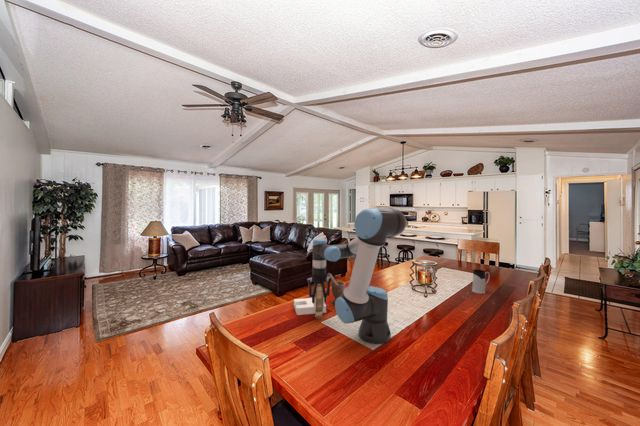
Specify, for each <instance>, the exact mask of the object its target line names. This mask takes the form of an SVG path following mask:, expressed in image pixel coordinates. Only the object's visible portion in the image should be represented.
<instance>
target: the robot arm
mask: <svg viewBox="0 0 640 426" xmlns="http://www.w3.org/2000/svg"><path fill="white" fill-rule="evenodd" d="M353 223H354V224H353V226H354V228H355V229H354V232H355V234H356V235H357V237H355V238H353V239H352V240H350V241H348V242H347V243H342V244H341V243H340V244H327V240H326V238H314V239H313V240H312V246H311V248H312V275H311V277H309V278H306V279H307V284H308V286H307V287H308V296H309V298H312V303H314V309H315V310H316V297H315V294H316V289H317V285H318V284H321V285H322V287H323V309H324V303H326V302H327V297H329V296H330V294H331V293H330V290H331V289H330V288H331V278H330V277H327V261H330V262H337V261H338V260H340V259H347V258H355V259H354V263H353V265H352V270H351V275H350V278H349V282H348V286H345V289H344V291H343V295H342V297H338V298H337V299H336V301H335V305H334V307H335V308H334V309H335V311H336V315H337V317H338V319H339V320H340V321H341V322H342V323H343V324H353V323H357V322H360V321H361V322H360V325H359V328H358V336H359V338H361V340H363V341H364V342H367V343H370V344H379V345H380V344H385V343H388V342H390V340H391V336H392V335H391V334H392V333H391V329H390V327H389V323H388V305H389V302H388V301H389V298H388V297H389V296H388V292H387V290H385V289H383V288H381V287H377V286H371V285H370V284H371V280H372V276H373V273H374V269H375V266H376V262H377V260H378V256H379V252H380V249H381V248H382V247H384V246H385V245H386V242H387V239H388V240H390V239H394V238H395V237H397V236H399V235H401V234H402V233H403V232H404V231H405V229H406V226H407V218H406V216H405V215H404V213H403V211H401V210H399V209H397V208H392V207H391V208H390V207H387V208H386V207H385V208H381V207H379V208H375V207H371V208H364V209H362V210H361V211H359V213H358V214H357V215H356V217H355V220H354V222H353ZM325 281H326V285H325ZM312 282H314V283H313V287H312Z"/></svg>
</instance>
